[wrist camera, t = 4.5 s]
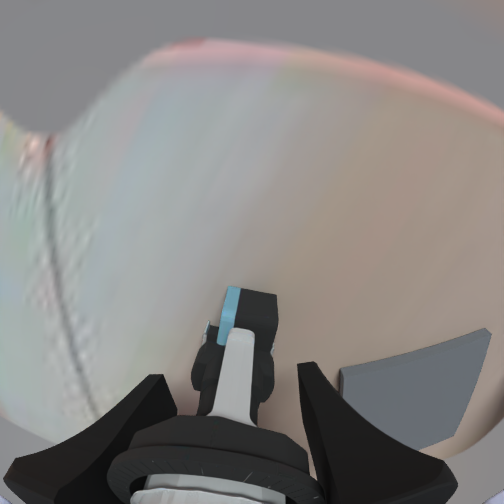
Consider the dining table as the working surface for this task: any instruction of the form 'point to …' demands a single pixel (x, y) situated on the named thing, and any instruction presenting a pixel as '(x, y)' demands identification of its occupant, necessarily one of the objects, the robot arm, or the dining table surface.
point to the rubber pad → (418, 389)
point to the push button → (221, 426)
